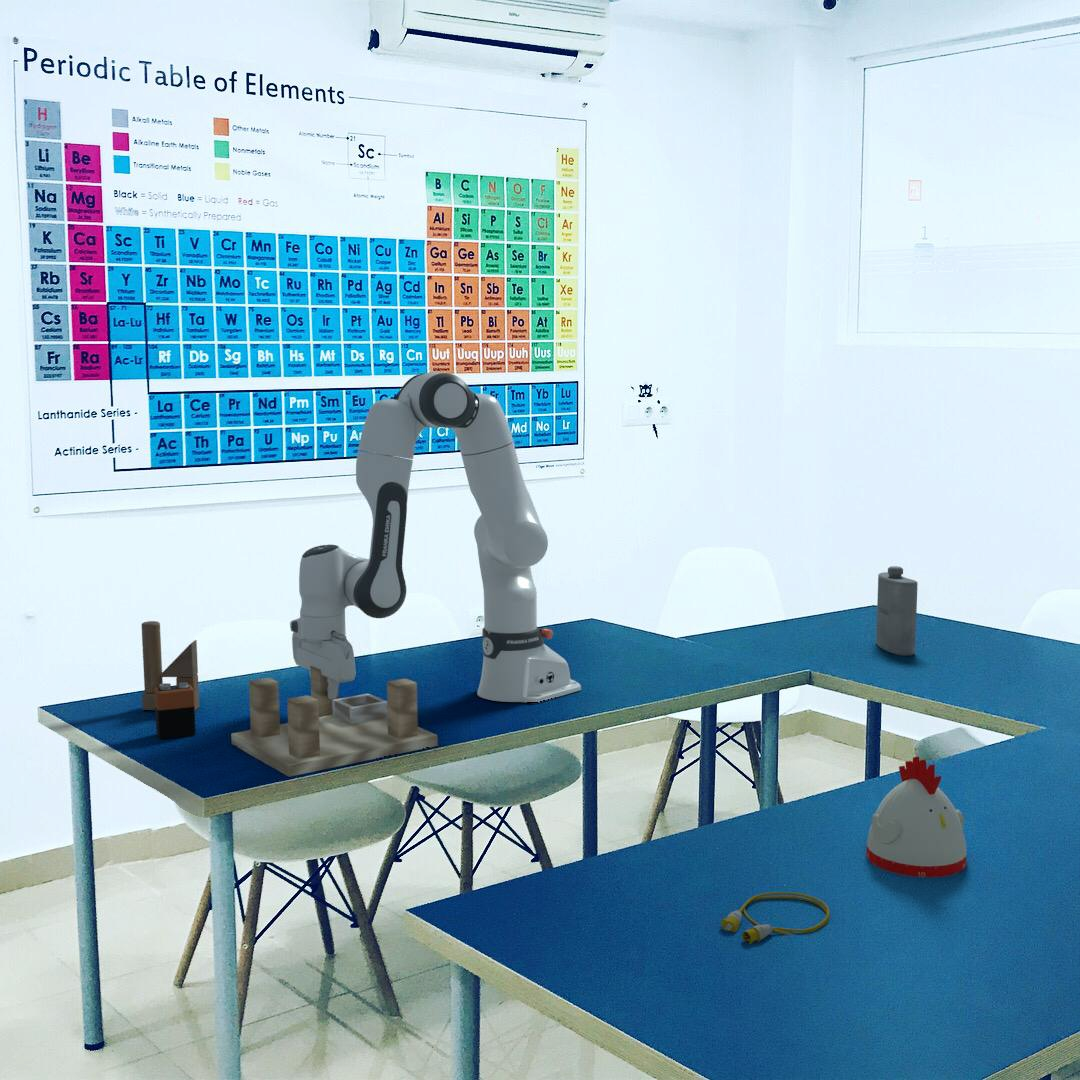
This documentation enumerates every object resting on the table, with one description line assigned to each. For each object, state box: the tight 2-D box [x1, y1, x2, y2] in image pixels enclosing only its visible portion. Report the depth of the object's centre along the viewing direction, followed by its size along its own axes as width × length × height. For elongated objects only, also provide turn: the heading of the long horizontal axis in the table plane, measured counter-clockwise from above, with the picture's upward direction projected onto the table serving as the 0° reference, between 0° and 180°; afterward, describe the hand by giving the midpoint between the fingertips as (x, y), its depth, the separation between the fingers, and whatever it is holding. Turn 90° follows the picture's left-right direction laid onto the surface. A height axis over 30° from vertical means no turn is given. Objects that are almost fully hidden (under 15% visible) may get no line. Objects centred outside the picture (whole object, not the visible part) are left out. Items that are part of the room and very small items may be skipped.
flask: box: [875, 565, 918, 657], centre depth 325 cm, size 15×6×20 cm, turn 9°
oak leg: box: [310, 666, 340, 717], centre depth 270 cm, size 4×4×10 cm
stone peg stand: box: [231, 677, 439, 778], centre depth 250 cm, size 30×24×12 cm
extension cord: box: [720, 891, 830, 945], centre depth 175 cm, size 12×16×2 cm
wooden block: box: [141, 620, 200, 711], centre depth 274 cm, size 4×11×18 cm, turn 87°
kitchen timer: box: [865, 756, 967, 878], centre depth 194 cm, size 14×14×15 cm
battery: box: [154, 682, 197, 740], centre depth 257 cm, size 4×7×10 cm, turn 114°
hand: (324, 695), depth 270 cm, fingers closed on oak leg, 4 cm apart
